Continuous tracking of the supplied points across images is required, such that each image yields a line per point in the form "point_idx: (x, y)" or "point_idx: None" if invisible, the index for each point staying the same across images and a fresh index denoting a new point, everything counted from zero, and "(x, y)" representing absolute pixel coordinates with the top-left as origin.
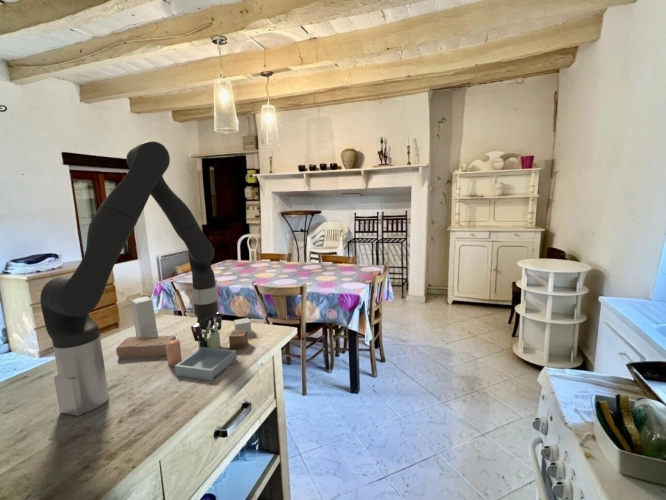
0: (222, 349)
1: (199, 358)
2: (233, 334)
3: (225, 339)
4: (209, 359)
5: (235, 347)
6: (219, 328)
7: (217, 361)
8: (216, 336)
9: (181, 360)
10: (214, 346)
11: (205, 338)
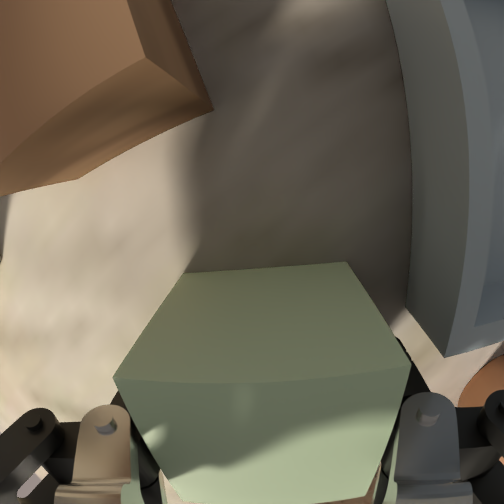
0: (459, 37)
1: (497, 269)
2: (51, 50)
3: (65, 318)
4: (501, 163)
5: (183, 45)
6: (45, 429)
7: (500, 69)
8: (214, 364)
9: (494, 370)
10: (295, 287)
11: (439, 424)
